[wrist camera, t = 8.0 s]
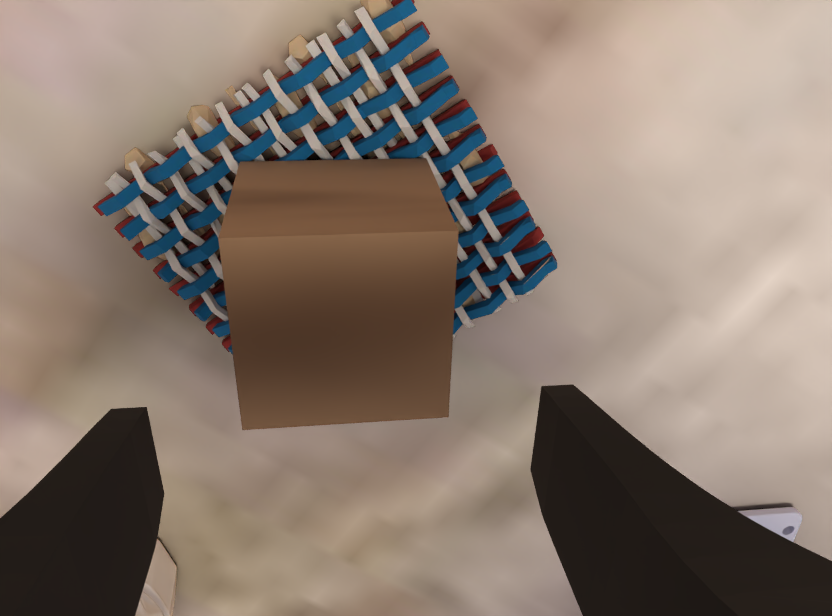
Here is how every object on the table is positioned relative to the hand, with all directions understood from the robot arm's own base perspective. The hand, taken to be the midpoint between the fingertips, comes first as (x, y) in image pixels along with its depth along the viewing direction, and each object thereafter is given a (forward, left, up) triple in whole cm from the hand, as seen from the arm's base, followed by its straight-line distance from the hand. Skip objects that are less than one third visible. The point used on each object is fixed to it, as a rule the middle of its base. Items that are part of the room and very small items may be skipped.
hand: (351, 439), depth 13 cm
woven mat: (0, 0, -11) cm, 11 cm away
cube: (0, 0, -8) cm, 9 cm away
